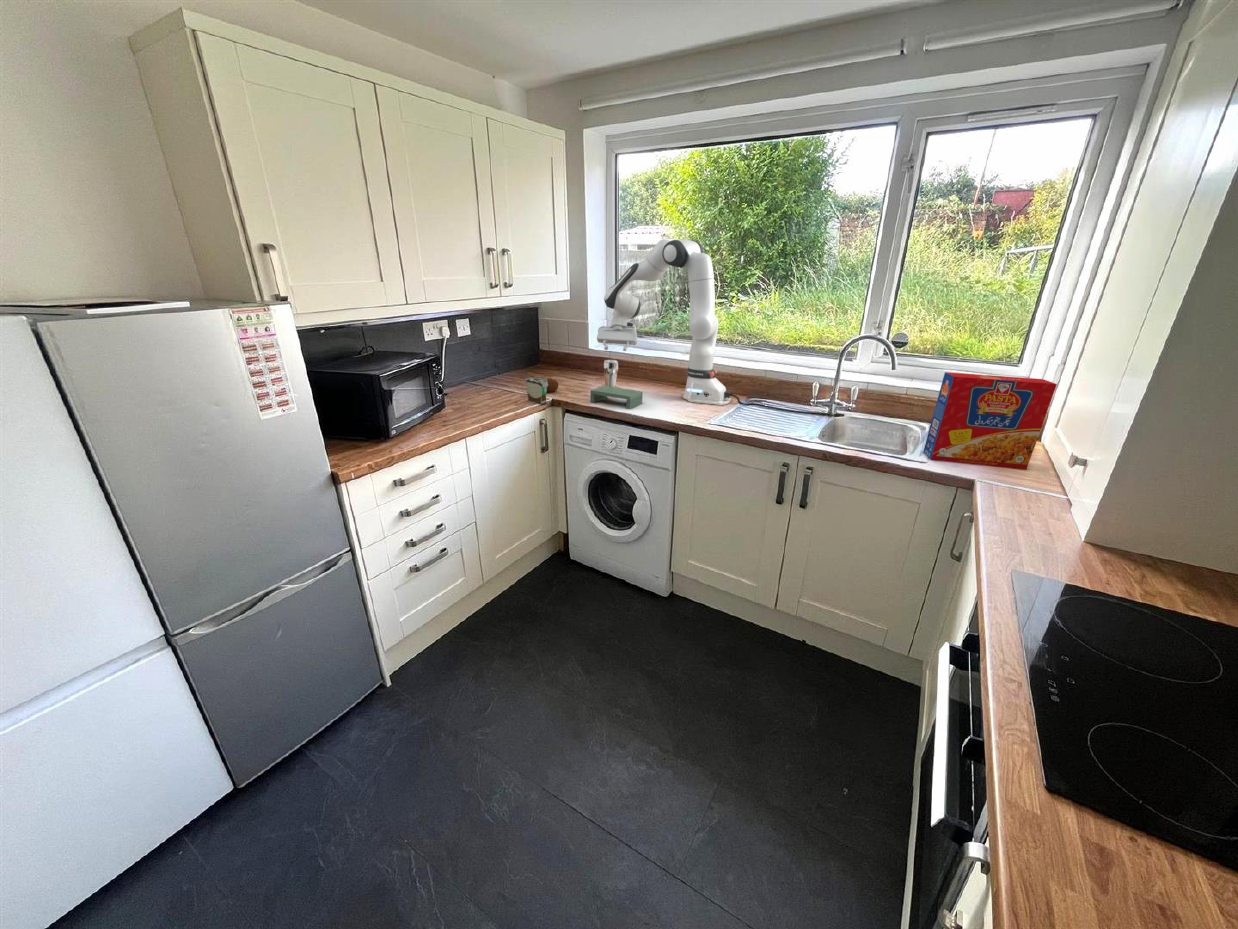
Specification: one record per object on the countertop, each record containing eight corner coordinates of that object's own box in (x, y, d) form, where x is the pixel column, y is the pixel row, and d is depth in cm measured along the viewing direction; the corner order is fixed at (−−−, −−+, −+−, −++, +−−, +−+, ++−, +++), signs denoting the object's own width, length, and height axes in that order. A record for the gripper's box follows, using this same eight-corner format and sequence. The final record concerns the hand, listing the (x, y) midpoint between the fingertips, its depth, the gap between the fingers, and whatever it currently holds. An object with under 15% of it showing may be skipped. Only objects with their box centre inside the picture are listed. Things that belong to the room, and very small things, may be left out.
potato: (562, 390, 242) (562, 377, 240) (548, 394, 233) (548, 381, 231) (552, 388, 245) (552, 375, 243) (538, 392, 236) (537, 379, 233)
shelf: (642, 403, 224) (642, 391, 222) (629, 409, 214) (630, 396, 212) (603, 397, 233) (604, 385, 231) (590, 402, 223) (590, 390, 221)
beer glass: (607, 389, 247) (608, 359, 242) (619, 391, 244) (620, 360, 239) (600, 392, 242) (600, 361, 236) (612, 394, 238) (613, 362, 233)
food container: (554, 403, 218) (554, 381, 214) (543, 405, 214) (542, 382, 210) (537, 398, 226) (536, 376, 222) (526, 400, 222) (525, 378, 218)
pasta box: (930, 459, 166) (954, 376, 156) (923, 452, 174) (944, 372, 163) (1026, 469, 160) (1057, 384, 150) (1014, 461, 168) (1042, 379, 158)
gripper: (598, 321, 251) (593, 344, 246) (638, 324, 249) (635, 346, 243) (599, 330, 257) (595, 352, 251) (638, 332, 254) (635, 354, 249)
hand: (615, 349), depth 247 cm, fingers open, 8 cm apart
